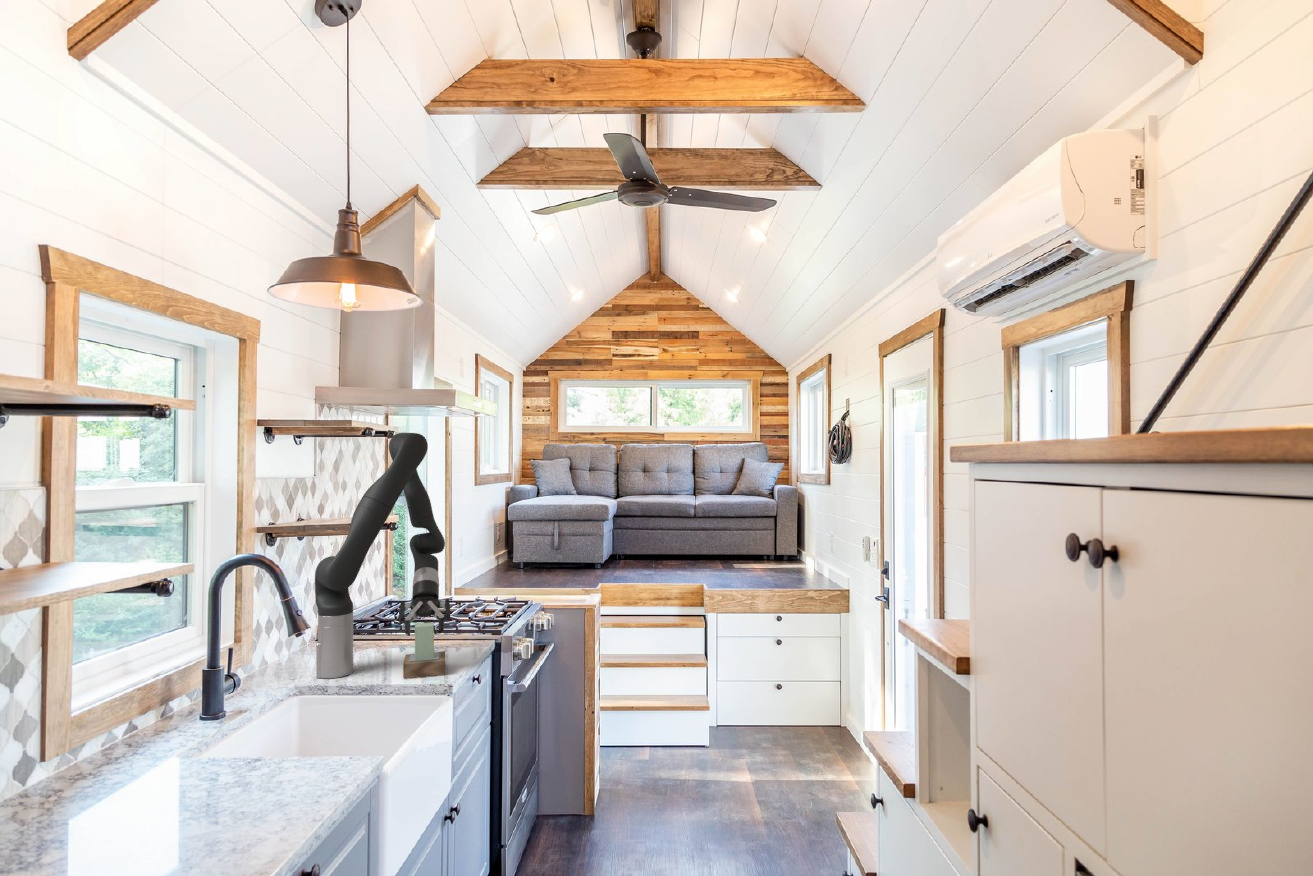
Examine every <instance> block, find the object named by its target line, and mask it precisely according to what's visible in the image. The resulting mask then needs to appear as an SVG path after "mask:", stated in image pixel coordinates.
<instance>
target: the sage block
mask: <svg viewBox="0 0 1313 876" xmlns="http://www.w3.org/2000/svg"><path fill="white" fill-rule="evenodd" d="M434 623H435V622H434V621H433V622H419V623H417V622H416V623H415V624H414V654H415V660H416V659H427V658H434V652H435V639H434V638H435V635H434V634H435V631H434V630H435V629H434V628H435V624H434Z"/></svg>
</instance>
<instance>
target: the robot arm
mask: <svg viewBox="0 0 1313 876" xmlns="http://www.w3.org/2000/svg"><path fill="white" fill-rule="evenodd" d="M428 449H429V445H428V441H427V438H426V437H425V436H424V435H422V434H420V433H417V432H399V433H396V434H394V435H392V437H391V438H390V439H389V443H388V451H389V455H390V457H391V460H392V462H391V464H390V465H389V466H388V468H387V469H386V471H385V472H384V473H383V474H381V476H380V477H379V478H377V480H375V482H373V484H372V485H371V486H370V487H368V489H367V490H366V491H365V492H364V493H363V495H362V497H361V499H360V500H359V502H358V504H357V505H356V508H355V509H354V512H353V514H352V517H351V521H350V524H349V529H348V533H347V536H346V539H345V540H344V543H343V544H342V546H341V547H340V549H339V551H338V552H337V553H336V554H335V556H334V555H333V556H331V555H330V556H327V557H325V558H323V559H322V560H320V561H319V563H317V566H316V568H315V572H314V595H315V596H314V598H315V603H316V604H315V605H316V607H317V628H318V629H317V643H316V647H315V649H316V652H315V653H316V665H315V666H316V670H315V671H316V678H317V679H321V678H322V679H335V678H342V677H347V676H348V675H349V676H350V675H351V674H353V673H354V602H353V601H352V599H351V596H350V591H349V590H350V589H349V588H350V587H351V586H352V585H353V584H354V583H355V581H356V579H357V577H358V575H359V572H360V570H361V568H362V566H363V563H364V561H365V559H366V557H367V554H368V552H369V551H370V549H371V547H372V545H373V543H374V542H375V540H376V539H377V537H378V536H379V535H378V534H380V532H381V529H382V528H383V526H384V525H385V523H386V522H387V519H388V518H389V516H390V515H391V513H392V511H393V509H394V507H395V506H396V503H397V501H398V499H399V498H400V496H401V494H402V493H404V498H405V502H406V506H407V510H408V514H409V515H408V516H409V521H410V524H411V526H412V527H413V528H415V529H424V530H427V531H428V532H424V533H418V534H414V535H412V537H410V540H409V550H410V551H411V555H412V557H413V562H414V570H413V571H414V573H413V578H412V579H413V580H412V594H411V595H412V599H411V602H410V603H406V602H405V601H401V602H400V604H399V614H398V623H399V624H400V625H402V624H404V633H405V635H407V637H409V636H411V626H412V625H411V624H412V622H413V621H415V620H416V619H417V618H418V617H419V618H424V617H427V618H429V617H431V616H432V617H433V618H434V619H436V620H437V621H438V634H442V632H444V630H445V622H446V621H449V622H450V620H451V605H450V599H449V598H446V599H445V600H444V601H443V600H442V601H440V595H439V594H440V593H439V591H440V577H439V560H438V557H437V556H435V555H434V554H439V553H442V552H443V551H444V549H445V547H446V541H445V537H444V536H443V534H442V532H441V530H440V528H439V526H438V524H437V522H436V520H435V516H434V513H433V507H432V502H431V499H430V496H429V494H428V491H427V489H426V487H425V486H424V484H423V482H422V480H421V478H420V476H419V472H418V468H419V466H420V465H421V463H422V462H423V460H424V459H425V457H426V454H427V453H428ZM441 607H442V609H444V610H445V614H443V613H442V612H441V610H440V608H441ZM409 609H410V610H411V611H410V612H409V613H408V615H407V616H405V614H406V613H405V612H407V611H408V610H409Z"/></svg>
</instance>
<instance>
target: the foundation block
mask: <svg viewBox="0 0 1313 876" xmlns="http://www.w3.org/2000/svg"><path fill="white" fill-rule="evenodd" d="M404 656H405V657H404V660H403V663H402V664H403V665H402V669H403V670H402V673H403V675H402V676H403V677H402V678H410V679H417V677H420V678H427V677H426V676H431V677H436V676H435V675H441V676H445V675H446V650H444V651H434V658H427V659H416V660H415V653H409V654H405V655H404Z"/></svg>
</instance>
